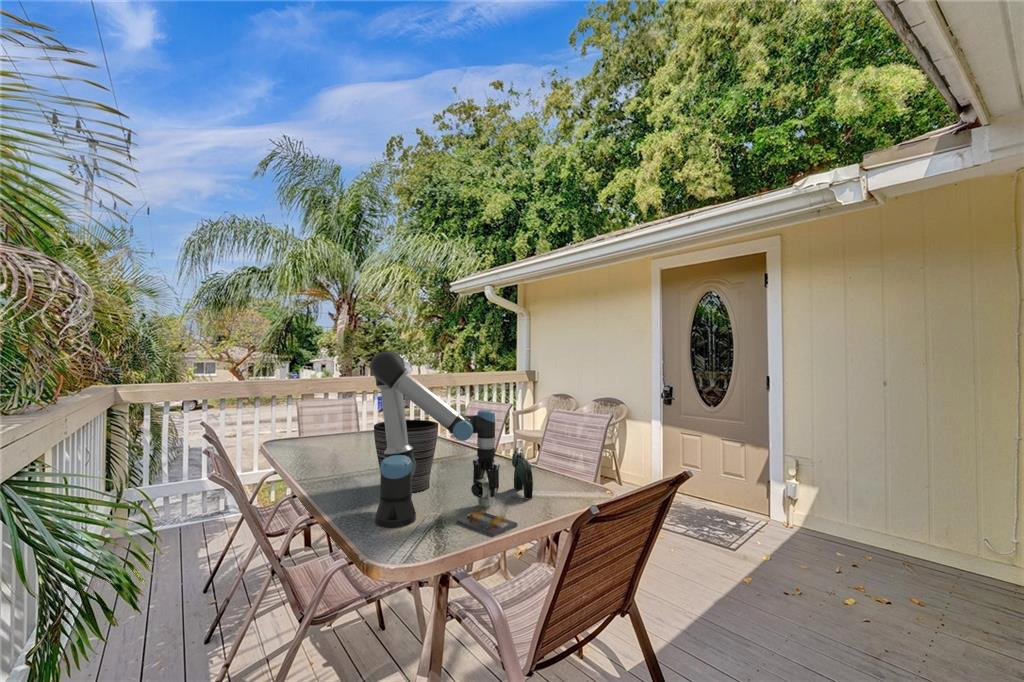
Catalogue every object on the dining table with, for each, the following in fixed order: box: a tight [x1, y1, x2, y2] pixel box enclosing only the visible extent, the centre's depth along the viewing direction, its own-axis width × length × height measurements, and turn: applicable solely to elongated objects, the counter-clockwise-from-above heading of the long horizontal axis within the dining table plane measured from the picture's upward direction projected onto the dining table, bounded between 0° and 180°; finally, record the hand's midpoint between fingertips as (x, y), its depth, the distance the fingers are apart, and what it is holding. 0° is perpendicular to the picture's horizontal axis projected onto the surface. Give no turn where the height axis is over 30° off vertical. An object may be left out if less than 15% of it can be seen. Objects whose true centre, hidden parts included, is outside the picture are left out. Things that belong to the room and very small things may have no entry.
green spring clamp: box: [511, 448, 534, 499], centre depth 213 cm, size 20×6×20 cm, turn 16°
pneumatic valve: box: [470, 476, 500, 508], centre depth 194 cm, size 6×12×12 cm, turn 134°
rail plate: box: [456, 509, 518, 537], centre depth 173 cm, size 13×19×4 cm
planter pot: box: [373, 419, 439, 494], centre depth 220 cm, size 30×30×30 cm
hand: (485, 502), depth 194 cm, fingers closed on pneumatic valve, 5 cm apart
